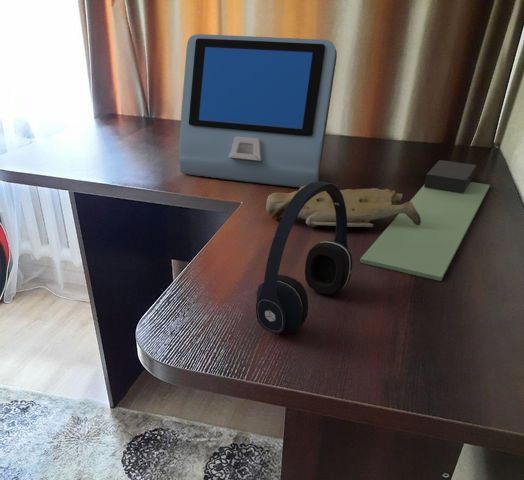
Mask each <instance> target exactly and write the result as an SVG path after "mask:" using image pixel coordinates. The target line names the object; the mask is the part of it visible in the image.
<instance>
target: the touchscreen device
mask: <svg viewBox="0 0 524 480" xmlns="http://www.w3.org/2000/svg"><path fill="white" fill-rule="evenodd" d="M337 59H338V55H337V49H336V46H335V43H334V42H333V41H331V40H328V39H318V38H317V39H316V38H296V37H295V38H293V37H273V36H272V37H271V36H250V35H225V34H206V33H205V34H203V33H197V34H193V35H191V36H189V38H188V39H187V43H186V51H185V63H184V64H185V65H184V77H183V88H182V99H181V101H182V102H181V110H180V111H181V112H180V131H179V143H178V144H179V145H178V165H179V172H180V173H181V174H183V175H186V174H189V175H188V176H192V175H196V176H195V177H200V176H204V177H203V178H208V177H211V178H210V179H216V178H219V179H220V180H225V179H226V180H227V181H233V180H234V182H241V183H242V182H244V183H250V184H251V183H252V184H260V185H267V186H269V185H270V186H278V187H286V188H296V189H300V188H301V187H302V186H305V185H308V184H310V183H313V182H319V181H320V173H321V168H322V167H321V166H322V160H323V152H324V145H325V140H326V139H325V138H326V132H327V126H328V119H329V112H330V107H331V106H330V105H331V98H332V93H333V86H334V79H335V72H336V66H337ZM219 179H218V180H219Z"/></svg>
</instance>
